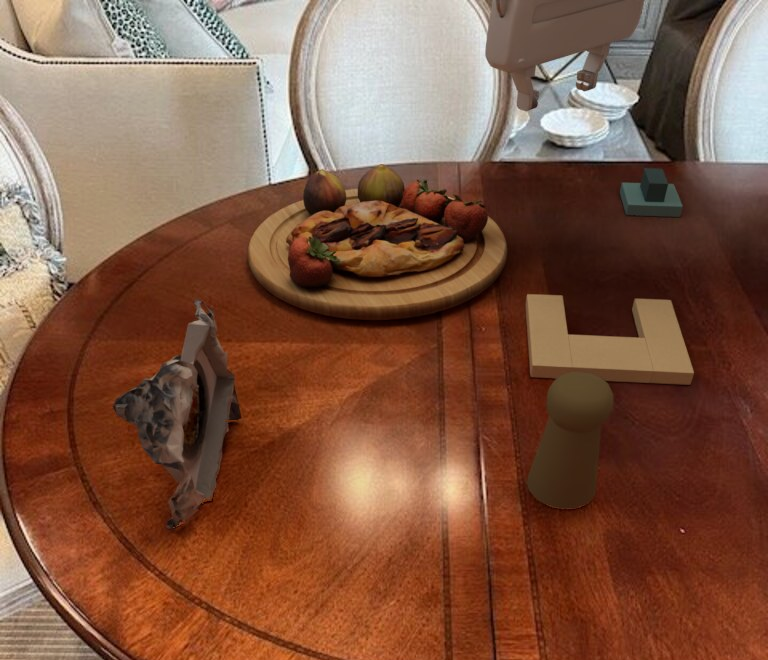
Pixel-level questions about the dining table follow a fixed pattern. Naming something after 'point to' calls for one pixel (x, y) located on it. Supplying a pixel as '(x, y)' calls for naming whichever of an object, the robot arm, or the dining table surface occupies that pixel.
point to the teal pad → (650, 207)
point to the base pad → (608, 345)
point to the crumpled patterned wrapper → (186, 415)
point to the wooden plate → (377, 249)
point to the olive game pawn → (571, 441)
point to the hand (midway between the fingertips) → (556, 98)
